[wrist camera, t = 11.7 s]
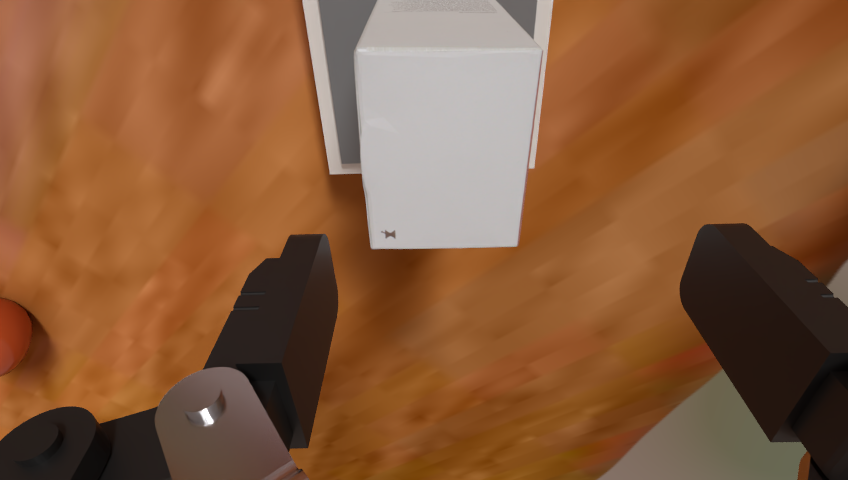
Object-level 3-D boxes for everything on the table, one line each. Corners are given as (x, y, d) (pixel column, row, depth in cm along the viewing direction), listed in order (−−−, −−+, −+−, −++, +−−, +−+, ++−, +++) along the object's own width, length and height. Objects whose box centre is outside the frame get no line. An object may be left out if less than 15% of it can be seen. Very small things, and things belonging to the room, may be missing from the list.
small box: (484, 131, 30) (520, 252, 20) (385, 133, 30) (367, 254, 20) (494, -11, 26) (547, 46, 15) (377, -9, 26) (346, 48, 15)
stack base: (547, -80, 27) (564, -79, 24) (524, 147, 35) (535, 171, 32) (304, -71, 27) (289, -69, 24) (337, 152, 35) (328, 177, 32)
